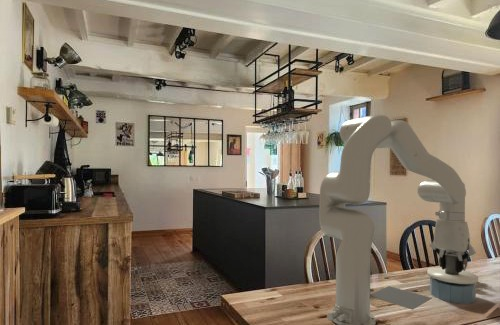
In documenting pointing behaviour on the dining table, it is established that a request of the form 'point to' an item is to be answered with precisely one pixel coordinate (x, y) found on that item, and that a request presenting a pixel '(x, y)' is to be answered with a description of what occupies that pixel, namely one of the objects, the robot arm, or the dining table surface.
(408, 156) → the robot arm
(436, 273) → the lid
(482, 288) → the dining table surface
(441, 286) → the bowl
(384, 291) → the mat
